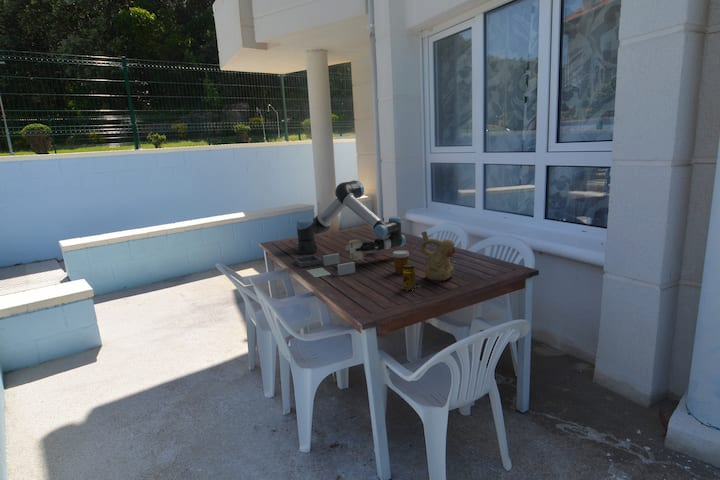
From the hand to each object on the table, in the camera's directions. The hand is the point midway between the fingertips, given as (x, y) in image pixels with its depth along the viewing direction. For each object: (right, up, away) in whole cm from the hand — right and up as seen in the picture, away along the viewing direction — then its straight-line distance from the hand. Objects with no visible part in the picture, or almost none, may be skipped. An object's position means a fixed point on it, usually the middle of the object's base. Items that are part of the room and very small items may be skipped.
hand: (348, 249), depth 257 cm
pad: (-17, -13, -5) cm, 23 cm away
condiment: (+33, -19, -40) cm, 55 cm away
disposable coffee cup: (+31, -13, -14) cm, 36 cm away
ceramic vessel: (+49, -15, -27) cm, 58 cm away
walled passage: (-6, -12, 0) cm, 13 cm away
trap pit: (-26, -9, +15) cm, 31 cm away
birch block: (+5, -6, +4) cm, 8 cm away
